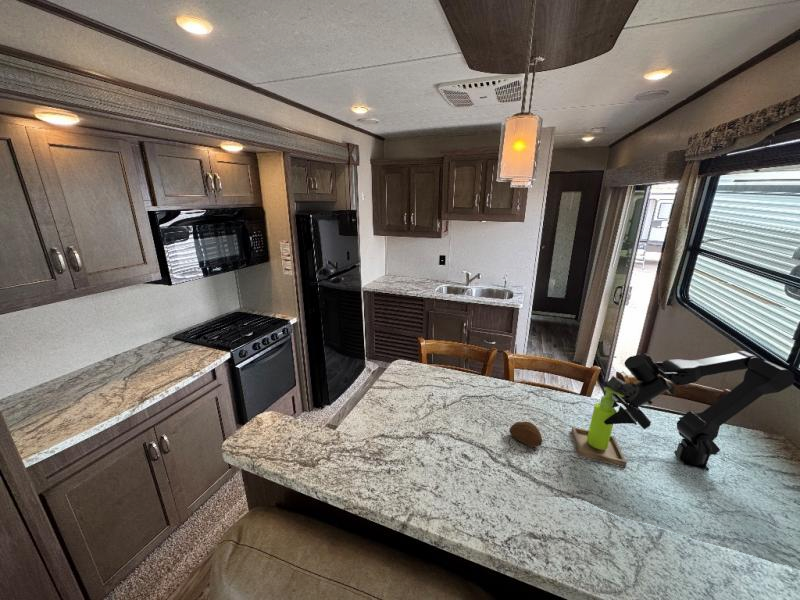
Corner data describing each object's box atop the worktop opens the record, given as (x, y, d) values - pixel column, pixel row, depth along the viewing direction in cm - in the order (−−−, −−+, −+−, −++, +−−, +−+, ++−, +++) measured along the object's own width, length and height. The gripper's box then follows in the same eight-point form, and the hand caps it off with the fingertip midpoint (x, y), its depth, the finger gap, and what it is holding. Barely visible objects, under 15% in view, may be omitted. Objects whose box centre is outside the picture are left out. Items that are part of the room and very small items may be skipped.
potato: (512, 429, 110) (515, 411, 108) (543, 442, 104) (547, 424, 103) (505, 439, 105) (508, 421, 103) (538, 454, 99) (542, 435, 97)
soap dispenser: (608, 454, 98) (623, 397, 93) (584, 442, 102) (597, 388, 98) (613, 445, 102) (627, 390, 97) (589, 434, 107) (601, 382, 102)
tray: (612, 441, 107) (614, 436, 106) (625, 467, 95) (626, 462, 95) (571, 431, 111) (572, 426, 110) (578, 455, 99) (579, 450, 99)
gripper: (613, 358, 105) (572, 384, 109) (649, 387, 87) (598, 417, 91) (633, 382, 106) (592, 407, 110) (672, 415, 88) (621, 443, 92)
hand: (600, 417), depth 100 cm, fingers closed on soap dispenser, 6 cm apart
